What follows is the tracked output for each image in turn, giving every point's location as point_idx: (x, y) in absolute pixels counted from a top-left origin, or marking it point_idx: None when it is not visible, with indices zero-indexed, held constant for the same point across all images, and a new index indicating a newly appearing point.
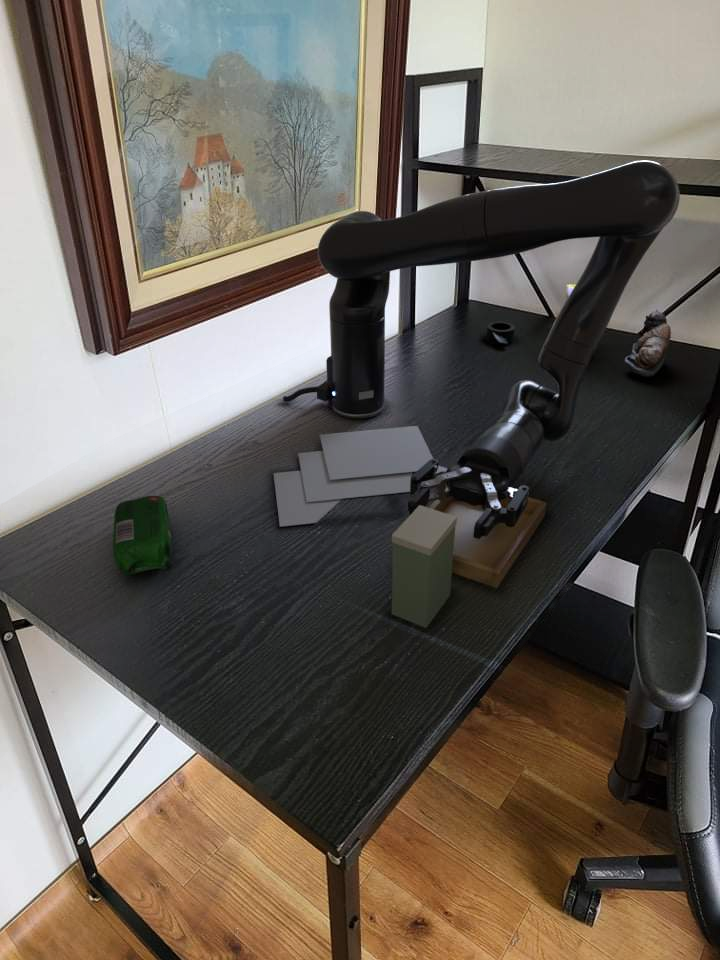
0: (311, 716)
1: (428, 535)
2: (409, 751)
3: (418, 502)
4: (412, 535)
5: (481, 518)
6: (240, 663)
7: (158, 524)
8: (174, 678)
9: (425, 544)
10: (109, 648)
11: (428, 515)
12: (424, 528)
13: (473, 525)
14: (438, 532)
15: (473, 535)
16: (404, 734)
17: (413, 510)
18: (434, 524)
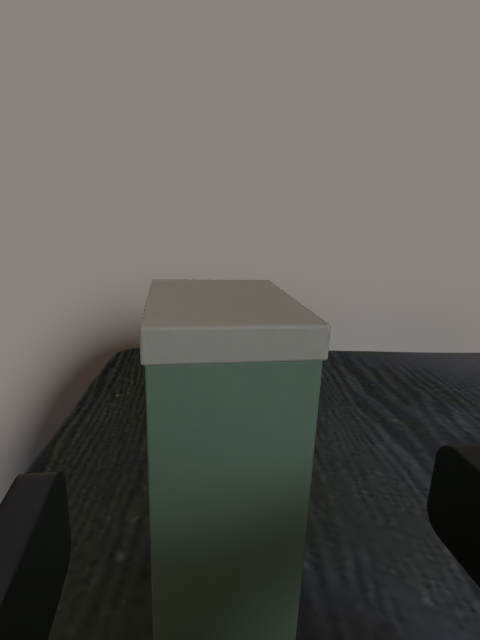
0: None
1: (185, 287)
2: (89, 393)
3: (470, 484)
4: (225, 284)
5: (21, 515)
6: (338, 385)
7: None
8: (361, 362)
9: (172, 280)
10: (439, 357)
11: (249, 310)
12: (215, 294)
13: None
14: (165, 295)
15: (70, 536)
16: (103, 400)
17: (436, 475)
18: (199, 302)
